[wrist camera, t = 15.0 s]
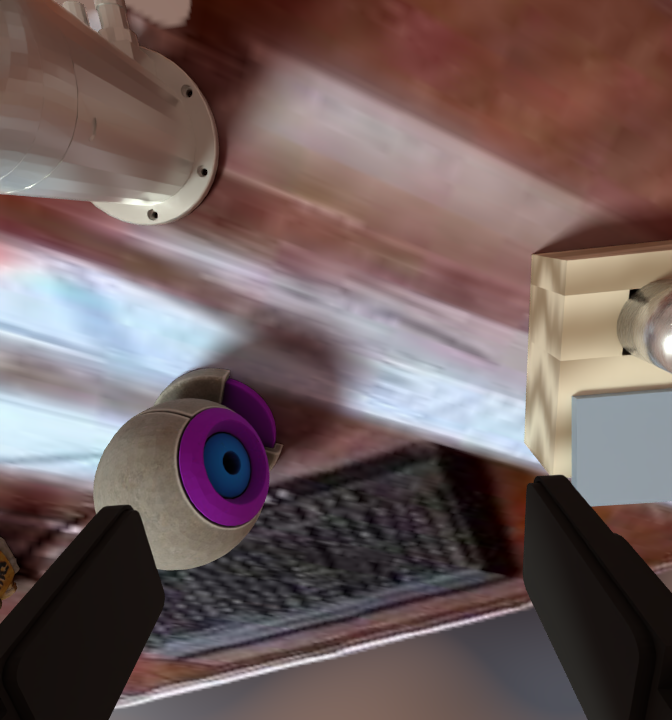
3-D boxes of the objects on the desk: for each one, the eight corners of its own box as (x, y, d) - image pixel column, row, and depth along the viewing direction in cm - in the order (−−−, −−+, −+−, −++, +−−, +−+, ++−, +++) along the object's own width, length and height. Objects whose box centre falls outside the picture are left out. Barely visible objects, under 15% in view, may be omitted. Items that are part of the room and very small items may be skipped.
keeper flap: (571, 396, 32) (577, 399, 31) (734, 382, 31) (743, 385, 31) (571, 502, 34) (576, 507, 33) (726, 492, 33) (735, 497, 32)
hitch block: (531, 254, 35) (567, 260, 29) (706, 236, 34) (778, 238, 28) (524, 442, 40) (552, 478, 35) (674, 431, 39) (728, 466, 34)
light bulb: (580, 274, 35) (673, 295, 25) (655, 266, 34) (780, 285, 24) (575, 342, 36) (659, 387, 26) (645, 336, 36) (758, 379, 26)
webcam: (306, 451, 42) (283, 571, 27) (205, 503, 44) (135, 637, 30) (232, 345, 38) (162, 417, 24) (128, 407, 41) (8, 506, 26)
